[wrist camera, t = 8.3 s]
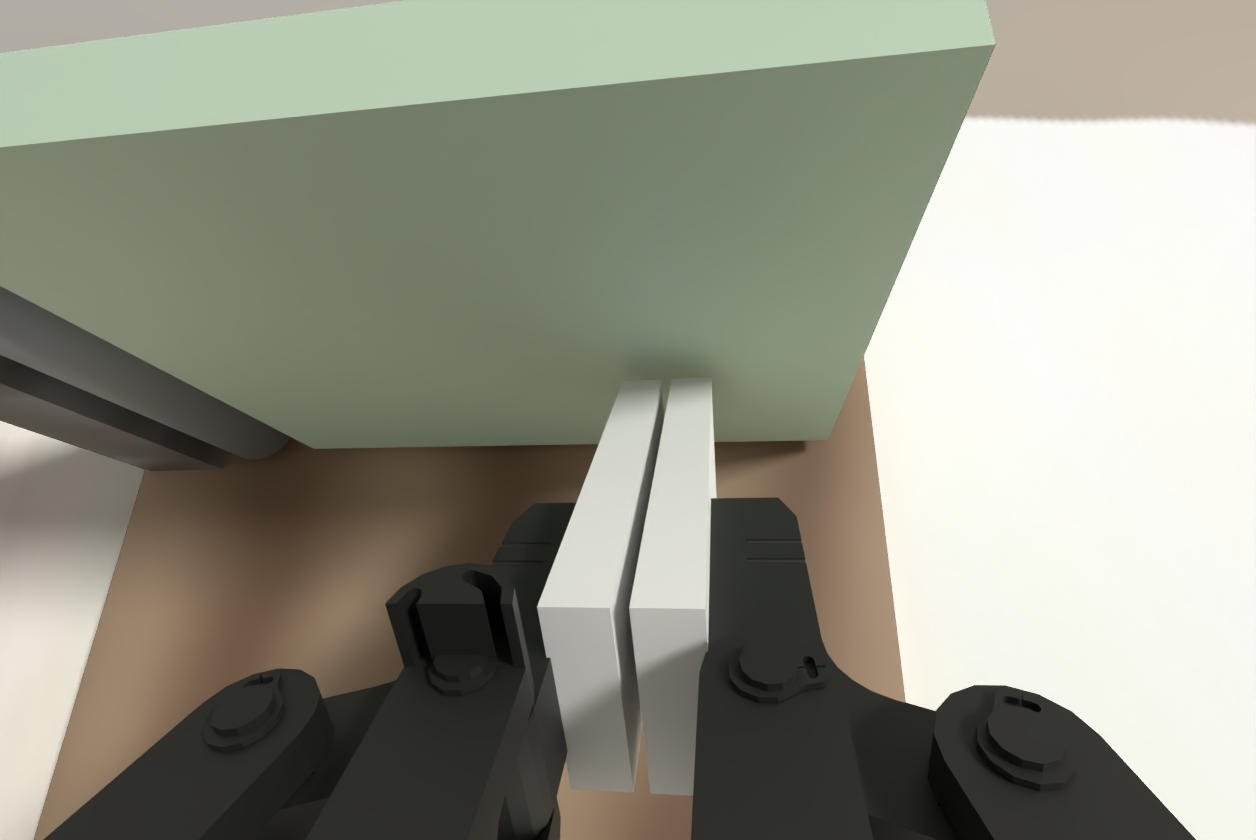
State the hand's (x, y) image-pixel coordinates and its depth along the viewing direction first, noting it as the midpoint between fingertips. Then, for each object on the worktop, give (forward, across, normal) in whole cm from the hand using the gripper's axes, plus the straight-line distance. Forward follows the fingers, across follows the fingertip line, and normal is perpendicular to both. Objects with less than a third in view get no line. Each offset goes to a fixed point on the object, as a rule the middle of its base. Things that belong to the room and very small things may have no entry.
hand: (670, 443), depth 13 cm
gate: (+4, -5, -1) cm, 6 cm away
